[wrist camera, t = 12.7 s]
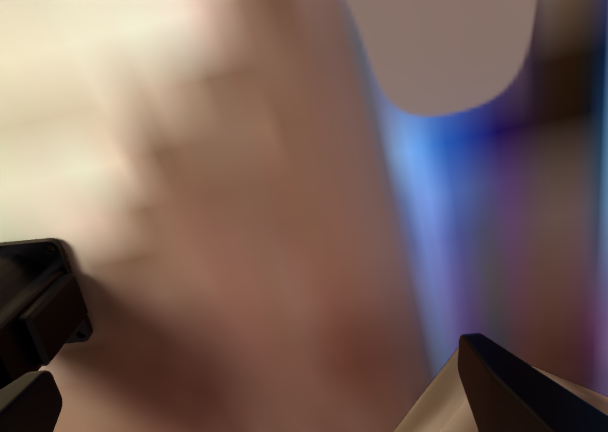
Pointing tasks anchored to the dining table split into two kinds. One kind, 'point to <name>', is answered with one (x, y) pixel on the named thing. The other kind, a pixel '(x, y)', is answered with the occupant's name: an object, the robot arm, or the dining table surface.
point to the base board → (466, 403)
